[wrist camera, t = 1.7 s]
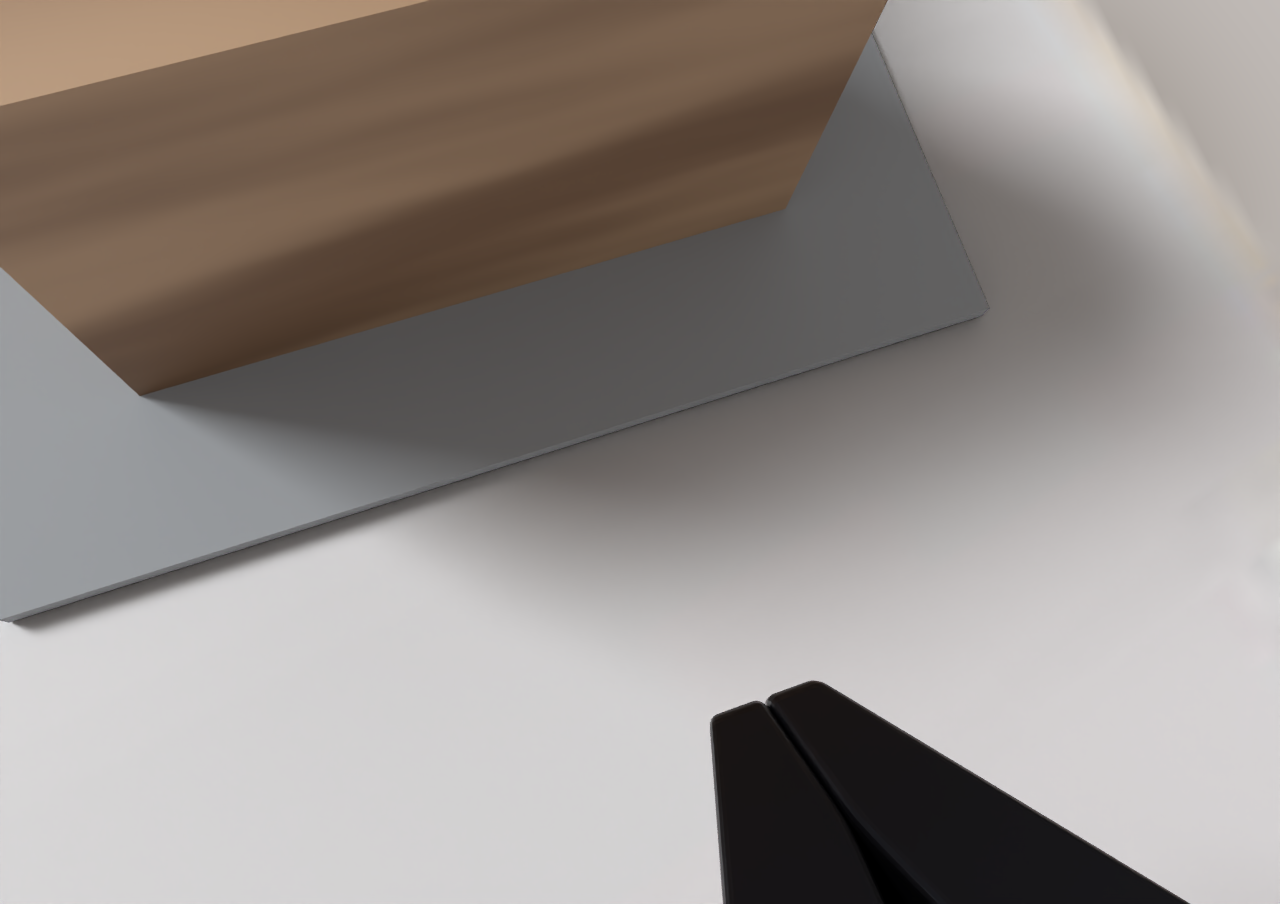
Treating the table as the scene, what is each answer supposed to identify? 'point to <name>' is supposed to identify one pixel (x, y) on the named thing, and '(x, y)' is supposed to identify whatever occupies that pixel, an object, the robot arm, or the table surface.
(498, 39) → the t block
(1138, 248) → the table surface
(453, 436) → the runner mat
